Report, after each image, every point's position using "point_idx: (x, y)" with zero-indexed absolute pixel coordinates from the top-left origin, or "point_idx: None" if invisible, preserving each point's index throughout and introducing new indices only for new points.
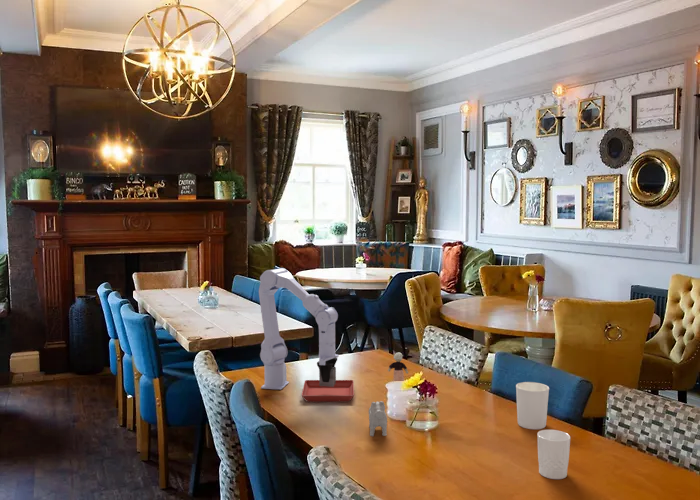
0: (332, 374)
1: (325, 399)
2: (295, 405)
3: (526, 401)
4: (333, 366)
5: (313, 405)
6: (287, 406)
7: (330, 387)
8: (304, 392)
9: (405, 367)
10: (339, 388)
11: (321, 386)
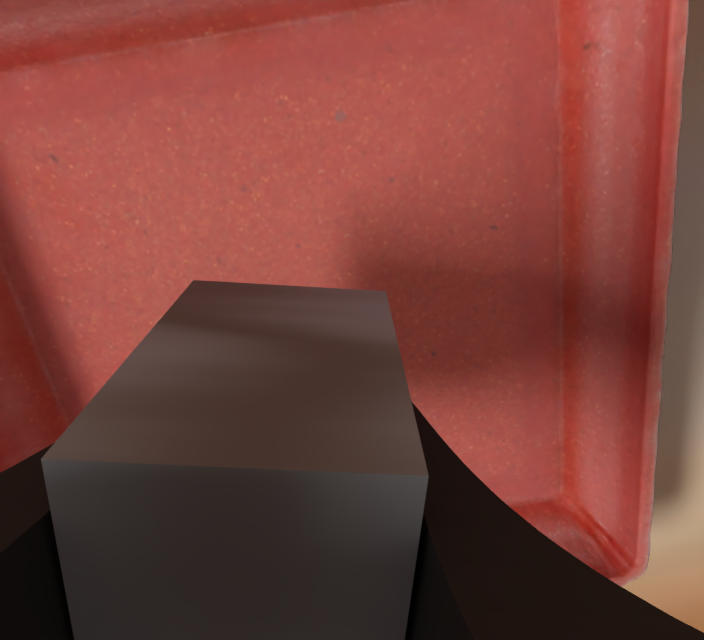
0: (410, 412)
1: (596, 313)
2: (667, 549)
3: None
4: (36, 536)
5: (683, 402)
6: (689, 598)
7: (44, 347)
8: None
9: None
10: (42, 224)
11: None
